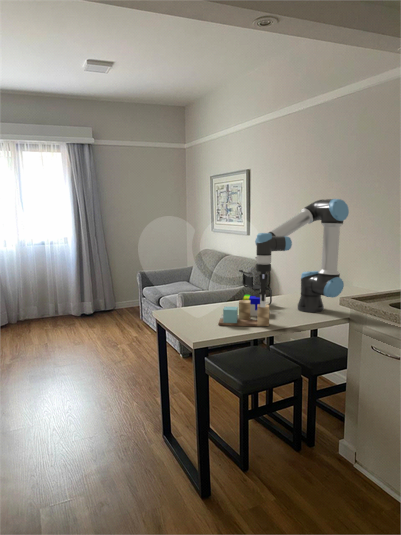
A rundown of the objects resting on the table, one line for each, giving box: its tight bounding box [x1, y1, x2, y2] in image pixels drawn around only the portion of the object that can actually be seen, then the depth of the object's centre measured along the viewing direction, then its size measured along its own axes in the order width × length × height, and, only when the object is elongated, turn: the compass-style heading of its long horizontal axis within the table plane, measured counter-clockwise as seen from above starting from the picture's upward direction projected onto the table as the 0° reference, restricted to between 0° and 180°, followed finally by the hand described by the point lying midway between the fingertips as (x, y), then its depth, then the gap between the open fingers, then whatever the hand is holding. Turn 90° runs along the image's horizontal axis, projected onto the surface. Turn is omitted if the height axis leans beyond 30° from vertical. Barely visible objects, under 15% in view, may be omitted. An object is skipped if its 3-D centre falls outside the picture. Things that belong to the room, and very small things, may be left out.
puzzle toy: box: [242, 294, 260, 317], centre depth 231 cm, size 10×10×10 cm
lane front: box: [217, 303, 270, 327], centre depth 209 cm, size 26×8×10 cm, turn 81°
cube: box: [222, 306, 239, 323], centre depth 210 cm, size 7×7×7 cm
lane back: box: [219, 299, 251, 320], centre depth 219 cm, size 16×8×10 cm, turn 81°
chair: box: [238, 269, 273, 306], centre depth 252 cm, size 13×17×22 cm
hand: (262, 304), depth 207 cm, fingers open, 13 cm apart
